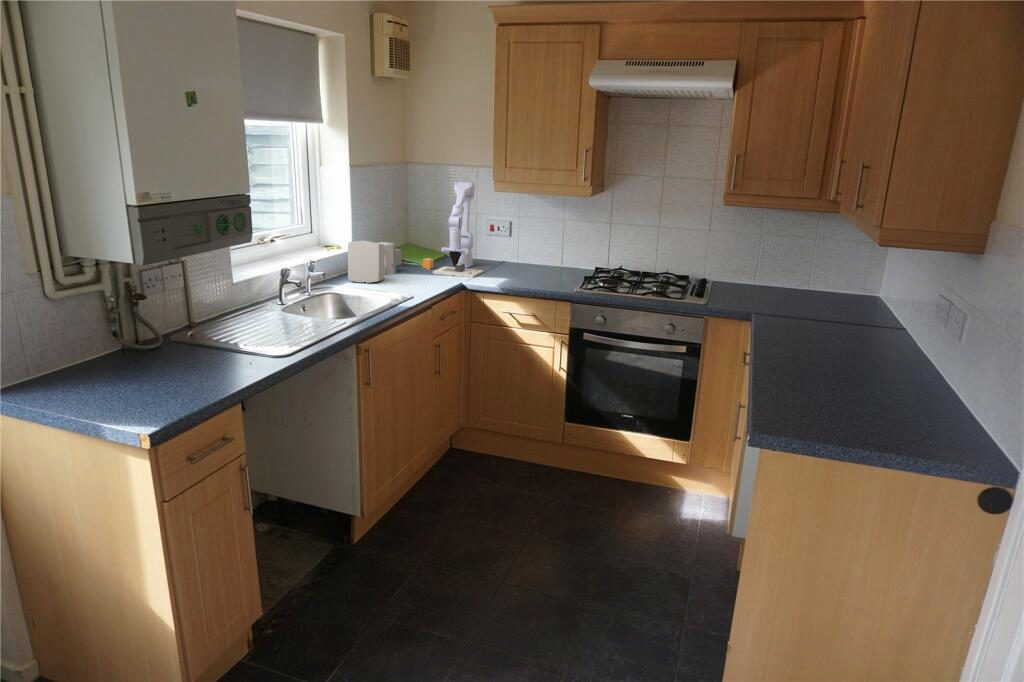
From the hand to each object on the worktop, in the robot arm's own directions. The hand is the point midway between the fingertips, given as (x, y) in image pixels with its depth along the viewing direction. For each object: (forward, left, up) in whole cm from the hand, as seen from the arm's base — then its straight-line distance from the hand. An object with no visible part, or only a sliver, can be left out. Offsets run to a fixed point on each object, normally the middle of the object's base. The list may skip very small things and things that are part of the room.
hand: (455, 266), depth 347 cm
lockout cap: (-4, -17, -3) cm, 18 cm away
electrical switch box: (+34, -30, -3) cm, 46 cm away
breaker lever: (0, +2, -2) cm, 3 cm away
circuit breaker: (+14, -30, -3) cm, 34 cm away
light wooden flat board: (0, +2, -3) cm, 4 cm away
